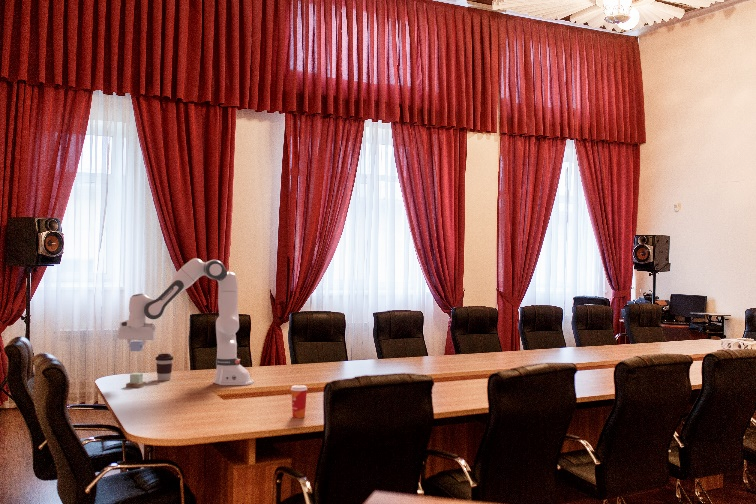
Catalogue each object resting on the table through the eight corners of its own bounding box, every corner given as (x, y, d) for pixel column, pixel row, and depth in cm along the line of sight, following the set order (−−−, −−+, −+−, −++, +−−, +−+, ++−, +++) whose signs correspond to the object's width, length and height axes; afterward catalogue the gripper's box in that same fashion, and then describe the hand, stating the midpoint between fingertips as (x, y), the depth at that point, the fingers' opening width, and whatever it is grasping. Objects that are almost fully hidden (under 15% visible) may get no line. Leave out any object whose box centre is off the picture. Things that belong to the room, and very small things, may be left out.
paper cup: (290, 414, 323) (291, 384, 323) (307, 414, 324) (307, 384, 324) (289, 418, 315) (290, 388, 315) (306, 418, 316) (307, 388, 316)
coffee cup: (167, 381, 400) (168, 355, 400) (151, 380, 402) (152, 355, 402) (175, 378, 410) (176, 353, 410) (160, 378, 412) (160, 352, 412)
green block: (142, 381, 388) (142, 373, 388) (138, 383, 383) (138, 374, 383) (133, 381, 388) (133, 372, 388) (130, 383, 383) (130, 374, 383)
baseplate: (145, 385, 389) (145, 381, 389) (140, 387, 381) (140, 384, 381) (132, 384, 390) (132, 381, 390) (125, 387, 382) (126, 383, 382)
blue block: (142, 350, 388) (142, 341, 388) (139, 351, 383) (139, 342, 383) (133, 349, 388) (134, 340, 388) (130, 351, 383) (130, 342, 383)
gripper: (157, 322, 388) (156, 347, 388) (121, 321, 390) (121, 346, 389) (153, 324, 382) (152, 349, 382) (117, 322, 383) (116, 348, 383)
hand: (136, 347), depth 386 cm, fingers closed on blue block, 5 cm apart
